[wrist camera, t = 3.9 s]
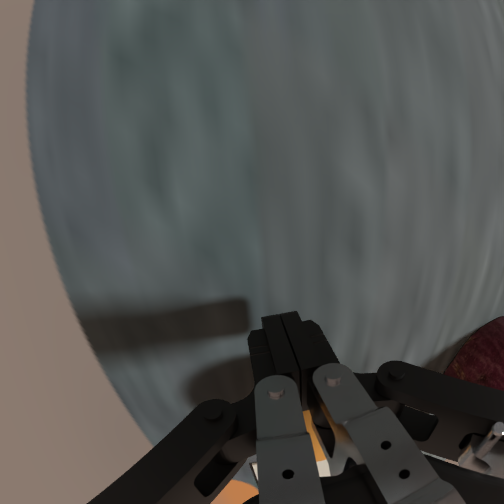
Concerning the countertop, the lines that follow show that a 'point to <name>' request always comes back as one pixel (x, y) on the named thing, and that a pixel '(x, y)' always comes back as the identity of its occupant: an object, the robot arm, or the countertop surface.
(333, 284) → the countertop surface
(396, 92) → the countertop surface
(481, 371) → the vegetable
